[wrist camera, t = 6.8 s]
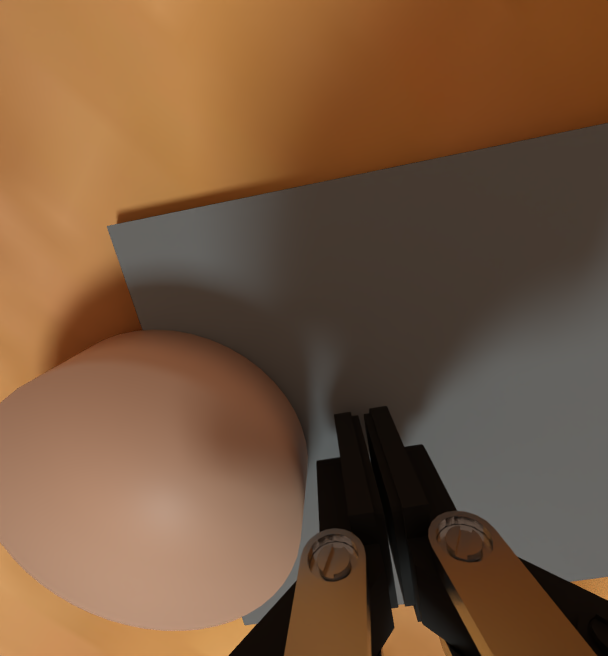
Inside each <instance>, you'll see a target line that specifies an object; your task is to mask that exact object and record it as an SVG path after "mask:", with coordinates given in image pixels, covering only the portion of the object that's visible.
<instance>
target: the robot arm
mask: <svg viewBox="0 0 608 656" xmlns="http://www.w3.org/2000/svg"><path fill="white" fill-rule="evenodd" d="M334 419H335V426H336V433H337V440H338V447H339V453H340V457H337V458H330V459H324V460H318V461H316V469H317V490H318V512H319V533H317V534H316V535H314V536H313V537H312V538H311V539H309V541H308V542H307V544H306V545H305V546H304V548H303V551H302V554H301V558H300V564H299V570H298V576H297V580H296V581H295V583H294V584H293V585H292V586H291V587H290V588H289V589H288V590H287V591H286V593H285V594H284V595H283V596H282V597H281V598H280V599H279V600H278V601H277V603H276V604H275V605H274V606H273V607H272V608H271V609H270V610H269V611H268V613H267V614H266V615H265V616H264V617H263V618H262V619H261V620H260V621H259V622H258V624H257V625H256V626H255V627H254V628H253V629H252V630H251V631H250V632H249V634H248V635H247V636H246V637H245V638H244V639H243V640H242V641H241V642H240V644H239V645H238V646H237V647H236V648H235V649H234V650H233V651H232V652H231V654H230V655H229V656H384V654H383V648H382V647H383V645H384V644H385V642H386V640H387V639H388V637H389V636H390V634H391V632H392V631H393V629H394V622H393V616H392V610H391V608H398V601H397V594H396V588H395V581H394V575H393V568H392V562H391V555H390V549H391V553H392V557H393V561H394V565H395V569H396V573H397V577H398V581H399V585H400V588H401V592H402V596H403V600H404V604H405V606H414V609H415V613H416V617H417V620H418V622H421V621H422V624H423V625H425V626H426V627H427V628H429V629H430V630H431V631H433V632H434V633H436V634H437V635H438V636H439V639H440V642H441V645H442V648H443V651H444V653H445V655H446V656H608V600H605V599H603V598H601V597H599V596H597V595H595V594H593V593H591V592H589V591H587V590H585V589H583V588H581V587H579V586H577V585H575V584H573V583H571V582H569V581H567V580H564V579H562V578H560V577H558V576H556V575H554V574H552V573H550V572H548V571H546V570H544V569H542V568H540V567H538V566H536V565H534V564H532V563H530V562H528V561H526V560H524V559H521V558H519V557H517V556H516V554H515V553H514V552H513V551H512V549H511V548H510V547H509V546H508V544H507V543H506V542H505V541H504V540H503V538H502V537H501V536H500V535H499V533H498V532H497V531H496V530H495V528H494V527H493V526H491V525H490V524H489V523H488V522H487V521H486V520H484V519H483V518H481V517H479V516H477V515H475V514H472V513H469V512H464V511H457V509H456V507H455V505H454V503H453V501H452V499H451V497H450V495H449V494H448V492H447V490H446V488H445V486H444V484H443V482H442V480H441V478H440V476H439V474H438V472H437V470H436V468H435V466H434V464H433V462H432V460H431V458H430V457H429V455H428V453H427V451H426V449H425V447H424V446H423V445H422V444H419V445H413V446H406V447H404V445H403V442H402V440H401V438H400V435H399V433H398V431H397V428H396V426H395V424H394V421H393V419H392V417H391V414H390V412H389V410H388V407H387V406H381V407H375V408H369V413H368V414H364V422H365V428H366V435H367V441H368V447H369V453H370V457H369V454H368V450H367V446H366V442H365V438H364V435H363V431H362V427H361V423H360V420H359V416H358V415H355V416H352V415H351V412H345V413H339V414H334ZM370 460H371V461H370ZM389 545H390V549H389Z"/></svg>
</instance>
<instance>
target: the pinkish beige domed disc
mask: <svg viewBox="0 0 608 656" xmlns="http://www.w3.org/2000/svg"><path fill="white" fill-rule="evenodd" d="M307 467H308V454H307V446H306V440H305V437H304V433H303V429H302V426H301V424H300V422H299V419H298V417H297V415H296V412H295V411H294V409H293V407H292V406H291V404H290V402H289V401H288V399H287V397H286V396H285V395H284V394H283V392H282V391H281V390H280V389H279V387H278V386H277V385H276V384H275V382H274V381H273V380H272V379H271V378H269V377H268V376H267V375H266V374H265V373H264V372H263V371H262V370H261V369H260V368H259V367H257V366H256V365H255V364H253V363H252V362H251V361H249V360H248V359H247V358H245V357H244V356H242V355H240V354H239V353H237V352H235V351H233V350H232V349H230V348H228V347H226V346H224V345H221V344H219V343H217V342H215V341H212V340H210V339H207V338H203V337H200V336H197V335H193V334H189V333H183V332H178V331H172V330H141V331H133V332H128V333H123V334H119V335H116V336H113V337H110V338H108V339H105V340H102V341H100V342H98V343H97V344H95V345H93V346H91V347H90V348H88V349H86V350H84V351H82V352H81V353H79V354H77V355H75V356H74V357H72V358H70V359H68V360H67V361H65V362H63V363H61V364H60V365H58V366H56V367H54V368H53V369H51V370H49V371H47V372H46V373H44V374H42V375H40V376H39V377H37V378H35V379H33V380H32V381H30V382H28V383H26V384H25V385H23V386H21V387H19V388H18V389H16V390H15V391H14V392H13V393H12V394H10V395H9V396H8V397H7V398H5V399H4V400H3V401H2V402H1V403H0V542H1V544H2V545H3V546H4V548H5V549H6V550H7V551H8V553H9V554H10V555H11V556H12V558H13V559H14V560H15V561H16V562H17V563H18V564H19V565H20V566H21V567H22V568H23V569H24V570H25V571H26V572H27V573H28V574H29V575H31V576H32V577H33V578H34V579H35V580H37V581H38V582H39V583H40V584H41V585H43V586H44V587H46V588H47V589H49V590H50V591H51V592H53V593H54V594H56V595H57V596H59V597H61V598H62V599H64V600H66V601H67V602H69V603H71V604H73V605H75V606H77V607H79V608H81V609H83V610H85V611H87V612H89V613H92V614H94V615H97V616H100V617H102V618H105V619H107V620H111V621H114V622H118V623H121V624H125V625H129V626H134V627H139V628H144V629H153V630H163V631H185V630H198V629H204V628H209V627H214V626H218V625H221V624H225V623H228V622H231V621H234V620H236V619H238V618H240V617H243V616H245V615H247V614H249V613H250V612H252V611H254V610H255V609H257V608H259V607H260V606H262V605H263V604H264V603H265V602H266V601H267V600H269V599H270V598H271V597H272V596H273V595H274V594H275V593H276V592H277V591H278V590H279V588H280V587H281V586H282V585H283V584H284V582H285V580H286V579H287V577H288V576H289V574H290V572H291V571H292V568H293V566H294V563H295V561H296V558H297V555H298V550H299V545H300V541H301V531H302V521H303V511H304V501H305V490H306V480H307Z"/></svg>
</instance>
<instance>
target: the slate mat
mask: <svg viewBox="0 0 608 656" xmlns="http://www.w3.org/2000/svg"><path fill="white" fill-rule="evenodd" d="M107 228H108V231H109V234H110V237H111V240H112V243H113V246H114V249H115V252H116V255H117V257H118V260H119V263H120V266H121V269H122V272H123V275H124V278H125V281H126V283H127V286H128V289H129V292H130V295H131V298H132V301H133V304H134V307H135V309H136V312H137V315H138V318H139V321H140V324H141V327H142V330H172V331H178V332H183V333H189V334H193V335H197V336H200V337H203V338H207V339H210V340H212V341H215V342H217V343H219V344H221V345H224V346H226V347H228V348H230V349H232V350H233V351H235V352H237V353H239V354H240V355H242V356H244V357H245V358H247V359H248V360H249V361H251V362H252V363H253V364H255V365H256V366H257V367H259V368H260V369H261V370H262V371H263V372H264V373H265V374H266V375H267V376H268V377H269V378H271V379H272V380H273V381H274V382H275V384H276V385H277V386H278V387H279V389H280V390H281V391H282V392H283V394H284V395H285V396H286V397H287V399H288V401H289V402H290V404H291V406H292V407H293V409H294V411H295V412H296V415H297V417H298V419H299V422H300V424H301V426H302V429H303V433H304V437H305V440H306V446H307V454H308V467H307V480H306V490H305V501H304V511H303V521H302V531H301V541H300V545H299V550H298V555H297V558H296V561H295V563H294V566H293V568H292V571H291V572H290V574H289V576H288V577H287V579H286V580H285V582H284V584H283V585H282V586H281V587H280V588H279V590H278V591H277V592H276V593H275V594H274V595H273V596H272V597H271V598H270V599H269V600H267V601H266V602H265V603H264V604H263V605H262V606H260V607H259V608H257V609H255V610H254V611H252V612H250V613H249V614H247V615H245V616H243V617H242V619H243V622H244V625H250V624H258V622H259V621H260V620H261V619H262V618H263V617H264V616H265V615H266V614H267V613H268V611H269V610H270V609H271V608H272V607H273V606H274V605H275V604H276V603H277V601H278V600H279V599H280V598H281V597H282V596H283V595H284V594H285V593H286V591H287V590H288V589H289V588H290V587H291V586H292V585H293V584H294V583H295V581H296V580H297V576H298V570H299V564H300V558H301V554H302V551H303V548H304V546H305V545H306V544H307V542H308V541H309V539H311V538H312V537H313V536H314V535H316V534H317V533H319V512H318V490H317V469H316V461H318V460H324V459H330V458H337V457H340V453H339V447H338V440H337V433H336V426H335V419H334V414H339V413H345V412H351V415H352V416H355V415H358V416H359V420H360V423H361V427H362V431H363V435H364V438H365V442H366V446H367V450H368V454H369V457H370V453H369V447H368V441H367V435H366V428H365V422H364V414H368V413H369V408H375V407H381V406H387V407H388V410H389V412H390V414H391V417H392V419H393V421H394V424H395V426H396V428H397V431H398V433H399V435H400V438H401V440H402V442H403V445H404V447H406V446H413V445H419V444H422V445H423V446H424V447H425V449H426V451H427V453H428V455H429V457H430V458H431V460H432V462H433V464H434V466H435V468H436V470H437V472H438V474H439V476H440V478H441V480H442V482H443V484H444V486H445V488H446V490H447V492H448V494H449V495H450V497H451V499H452V501H453V503H454V505H455V507H456V509H457V511H464V512H469V513H472V514H475V515H477V516H479V517H481V518H483V519H484V520H486V521H487V522H488V523H489V524H490V525H491V526H493V527H494V528H495V530H496V531H497V532H498V533H499V535H500V536H501V537H502V538H503V540H504V541H505V542H506V543H507V544H508V546H509V547H510V548H511V549H512V551H513V552H514V553H515V554H516V556H517V557H519V558H521V559H524V560H526V561H528V562H530V563H532V564H534V565H536V566H538V567H540V568H542V569H544V570H546V571H548V572H550V573H552V574H554V575H556V576H558V577H560V578H562V579H564V580H567V581H569V582H571V581H579V580H586V579H594V578H601V577H608V123H606V124H601V125H596V126H591V127H586V128H581V129H576V130H572V131H567V132H562V133H557V134H552V135H547V136H542V137H538V138H533V139H528V140H523V141H518V142H513V143H508V144H504V145H499V146H494V147H489V148H484V149H479V150H474V151H470V152H465V153H460V154H455V155H450V156H445V157H440V158H436V159H431V160H426V161H421V162H416V163H411V164H406V165H402V166H397V167H392V168H387V169H382V170H377V171H372V172H368V173H363V174H358V175H353V176H348V177H343V178H338V179H334V180H329V181H324V182H319V183H314V184H309V185H304V186H300V187H295V188H290V189H285V190H280V191H275V192H270V193H266V194H261V195H256V196H251V197H246V198H241V199H236V200H232V201H227V202H222V203H217V204H212V205H207V206H202V207H198V208H193V209H188V210H183V211H178V212H173V213H168V214H164V215H159V216H154V217H149V218H144V219H139V220H135V221H130V222H125V223H120V224H115V225H110V226H107ZM370 461H371V460H370ZM389 549H390V545H389ZM390 555H391V562H392V568H393V575H394V581H395V588H396V594H397V601H398V605H400V604H404V600H403V596H402V592H401V588H400V585H399V581H398V577H397V573H396V569H395V565H394V561H393V557H392V553H391V549H390Z"/></svg>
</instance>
